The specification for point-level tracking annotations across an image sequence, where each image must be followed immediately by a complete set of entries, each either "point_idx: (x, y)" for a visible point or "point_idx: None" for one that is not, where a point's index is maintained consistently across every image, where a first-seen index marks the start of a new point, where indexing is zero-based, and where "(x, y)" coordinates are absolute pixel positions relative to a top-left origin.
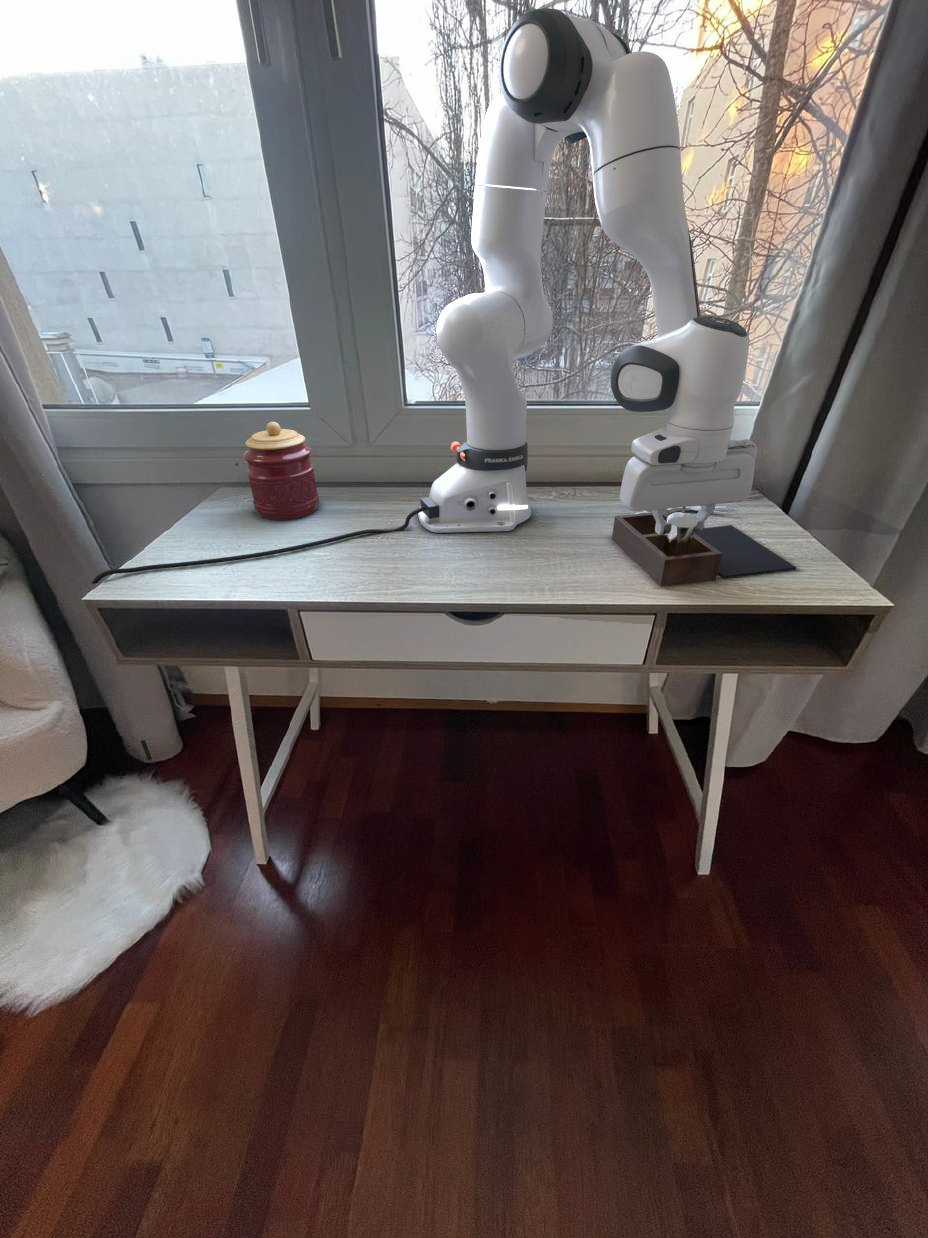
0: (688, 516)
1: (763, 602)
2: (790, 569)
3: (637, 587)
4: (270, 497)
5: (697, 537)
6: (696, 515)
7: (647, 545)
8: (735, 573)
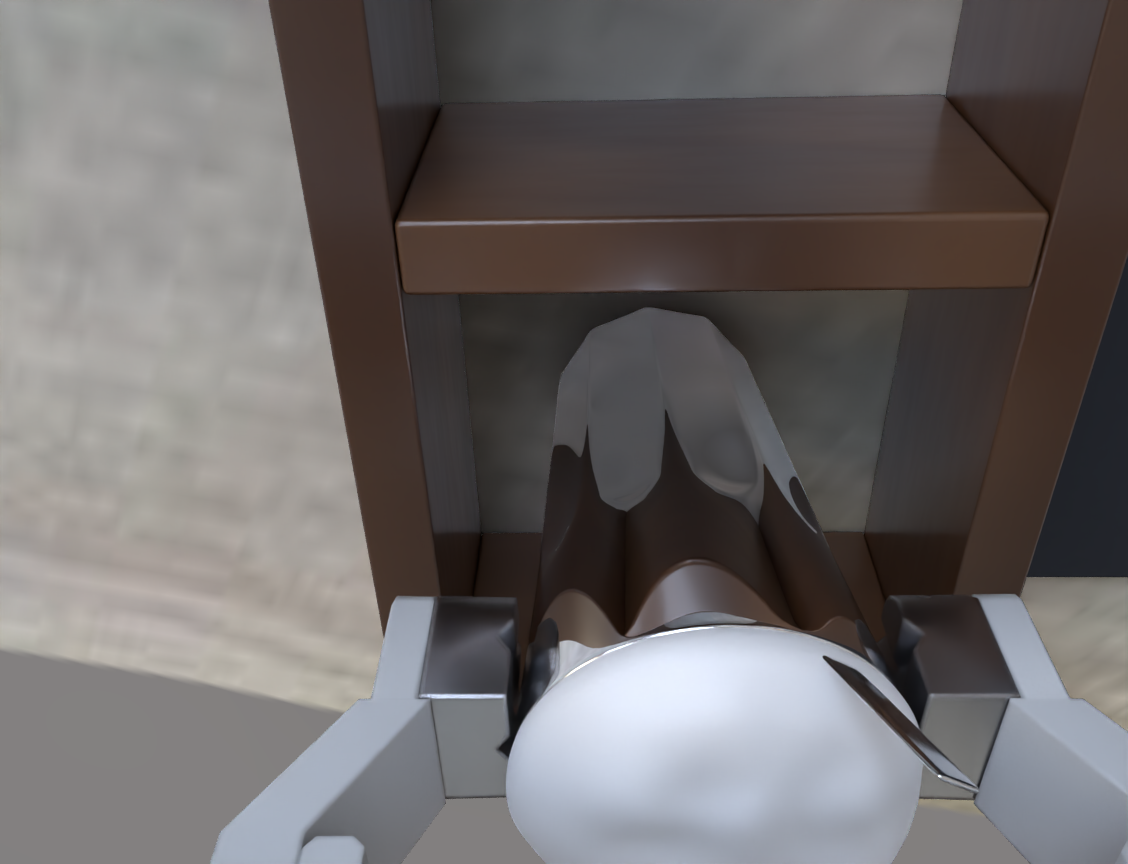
0: None
1: (960, 807)
2: None
3: (262, 545)
4: None
5: (1030, 445)
6: (1025, 721)
7: (356, 481)
8: (1095, 565)
